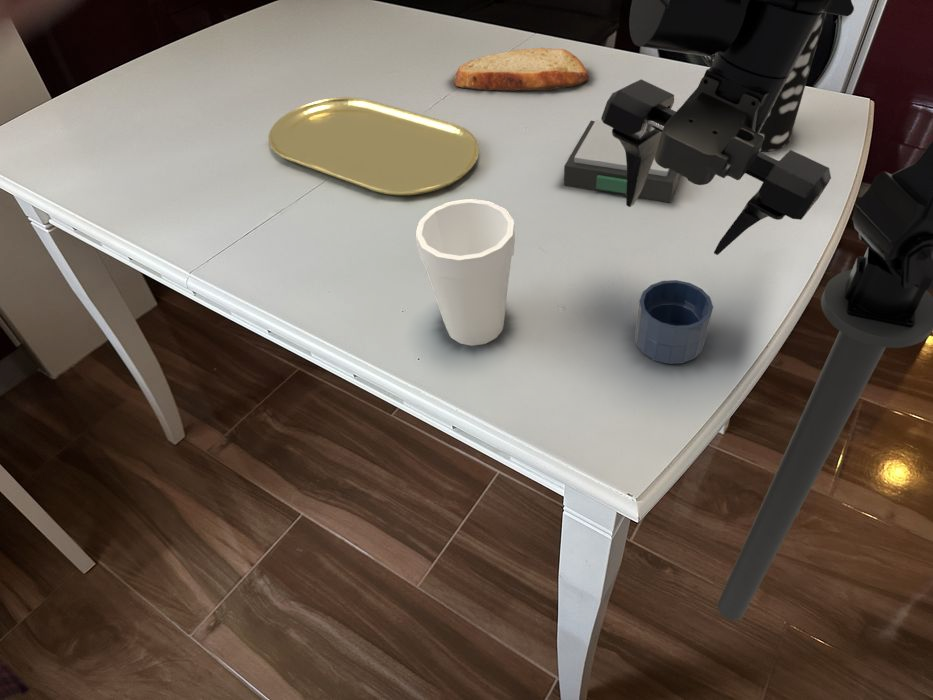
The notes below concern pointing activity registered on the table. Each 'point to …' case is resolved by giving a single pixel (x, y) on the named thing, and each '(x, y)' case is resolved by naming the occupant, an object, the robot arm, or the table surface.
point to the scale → (612, 167)
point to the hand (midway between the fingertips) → (672, 228)
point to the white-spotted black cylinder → (790, 97)
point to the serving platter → (375, 145)
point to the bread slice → (523, 70)
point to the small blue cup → (672, 321)
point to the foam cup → (468, 266)
